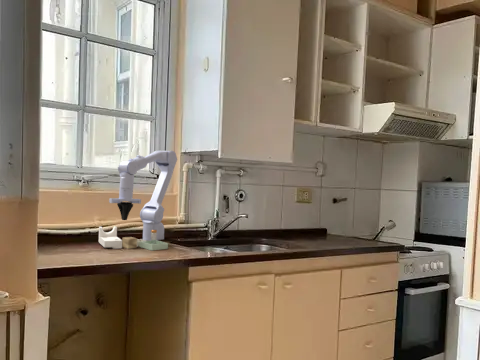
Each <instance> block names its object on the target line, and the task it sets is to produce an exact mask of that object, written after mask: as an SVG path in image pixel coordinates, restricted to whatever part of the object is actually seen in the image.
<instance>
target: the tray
mask: <svg viewBox="0 0 480 360" xmlns="http://www.w3.org/2000/svg"><path fill="white" fill-rule="evenodd" d="M139 248H142V249H145V250H149V251H160V250H168V249H169V243H168V242H165V241H161V240H156V244H151V241H149V240H147V241H141V242H140V246H139Z"/></svg>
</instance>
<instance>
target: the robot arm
mask: <svg viewBox="0 0 480 360" xmlns="http://www.w3.org/2000/svg"><path fill="white" fill-rule="evenodd" d="M177 161H178V157H177V154H176V152H175V150H160V149H157V150H155V151H152V152H151V153H149V154H147V155H145V156H143V155H141V154H140V155H139V154H137V155H136V156H135V157H133V158H128V160H123V161H121V162H120V163H119V165H118V166H117V171H118V172H119V178H120V179H119V193H118V197H117V198H116V197H115V198H114V197H113V198H112V197H110V198H109V199H108V202H109V204H117V208H118V210H119V213H120V217H121V220H122V221H128V218H129V214H130V212H131V210H132V209H133V207H134V204H139V205H140V204H142V198H133V193H134V183H135V181H134V180H135V175H136V174H137V173H138V172H139V171H140V170H142V169H145V168H146V167H147V165H148V164H150V163H153V162H155V164H156V166H157V169H159V170H160V174H159V177H158V179H157V182H156V184H155V188H154V190H153V192H152V196H151V197H150V200H149V201H147V202H146V203H144V206H143V207H142V208H141V210H140V212H139V217H140V220H141V221H142V226H143V227H142V239H143V240H147V241H151V230H157V236H156V240H158V241H161V240H165V225H164V224H163V222H162V220H163V218H164V212H165V208H164V207H163V205H162V203H163V201H164V197H165V195H166V192H167V190H168V187H169V184H170V182H171V179H172V176H173V173H174V169H175V167H176V165H177Z"/></svg>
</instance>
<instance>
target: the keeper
mask: <svg viewBox="0 0 480 360" xmlns="http://www.w3.org/2000/svg"><path fill="white" fill-rule="evenodd" d="M141 241H148V240H143V238H140V239H138V238H137V247H140V242H141Z"/></svg>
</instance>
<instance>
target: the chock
mask: <svg viewBox="0 0 480 360" xmlns="http://www.w3.org/2000/svg"><path fill="white" fill-rule="evenodd" d="M137 239H138V238H136V237H134V236H133V237H132V236H125V237H122V239H121V240H122V248H124V249H128V250H129V249H137V247H138V246H137Z"/></svg>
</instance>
